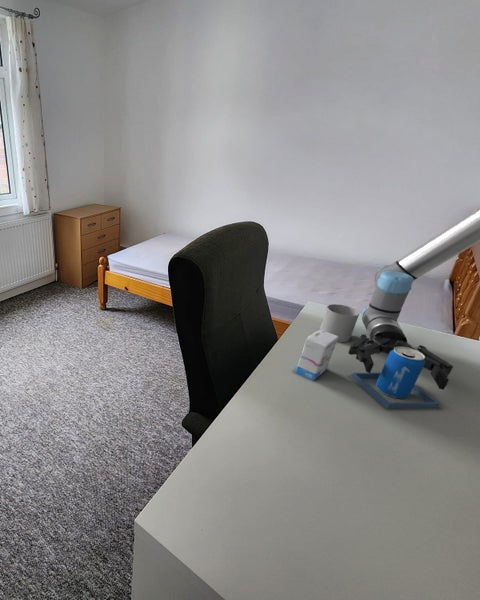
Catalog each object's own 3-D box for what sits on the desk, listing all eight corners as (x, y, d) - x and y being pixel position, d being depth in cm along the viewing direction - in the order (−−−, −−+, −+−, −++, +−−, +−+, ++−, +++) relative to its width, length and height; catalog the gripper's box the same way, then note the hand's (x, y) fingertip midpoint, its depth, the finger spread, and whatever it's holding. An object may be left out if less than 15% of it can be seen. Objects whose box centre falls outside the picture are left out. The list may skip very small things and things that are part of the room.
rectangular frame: (394, 378, 93) (397, 372, 92) (437, 410, 82) (440, 403, 81) (349, 378, 93) (352, 372, 92) (385, 410, 82) (388, 404, 81)
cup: (324, 341, 110) (333, 314, 106) (314, 329, 117) (322, 303, 113) (354, 344, 108) (364, 317, 104) (342, 331, 115) (352, 305, 111)
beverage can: (373, 392, 87) (390, 353, 82) (377, 380, 91) (393, 342, 86) (406, 404, 83) (426, 364, 78) (409, 391, 87) (428, 352, 82)
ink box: (313, 382, 92) (326, 345, 87) (294, 373, 95) (305, 337, 90) (327, 371, 96) (339, 335, 91) (307, 362, 100) (318, 327, 95)
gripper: (438, 357, 94) (470, 405, 77) (330, 336, 105) (338, 373, 89) (450, 334, 91) (486, 378, 74) (337, 315, 102) (346, 349, 85)
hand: (405, 376), depth 81 cm, fingers open, 13 cm apart
